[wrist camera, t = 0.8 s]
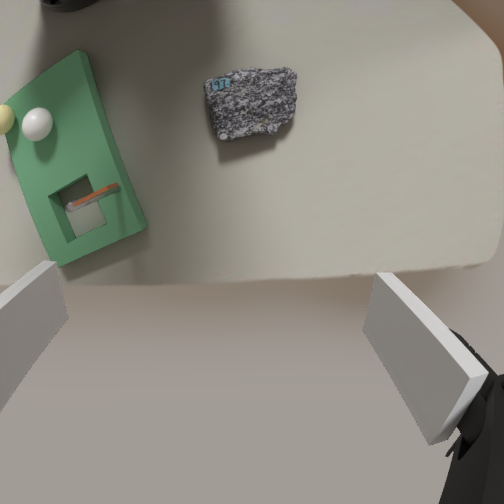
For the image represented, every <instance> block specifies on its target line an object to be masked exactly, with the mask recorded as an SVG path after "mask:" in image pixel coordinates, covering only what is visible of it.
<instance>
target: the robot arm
mask: <svg viewBox="0 0 504 504" xmlns="http://www.w3.org/2000/svg"><path fill="white" fill-rule="evenodd" d="M97 1H98V0H40V2H41V3H42V4H44V5H45V6H47V7H48V8H50V9H52V10H54V11H57V12H70V11H75V10H78V9H81V8H84V7H86V6H89V5H91V4H93V3H95V2H97ZM67 320H68V315H67V311H66V307H65V302H64V298H63V293H62V288H61V283H60V278H59V273H58V267H57V262H56V261H42V262H41V263H39V264H38V265H37V266H35V267H34V268H33V269H31V270H30V271H29V272H27V273H26V274H25V275H24V276H22V277H21V278H20V279H18V280H17V281H16V282H15V283H13V284H12V285H11V286H10V287H9V288H7V289H6V290H5V291H4V292H2V293H1V294H0V412H1V411H2V409H3V408H4V406H5V405H6V403H7V402H8V400H9V399H10V397H11V396H12V394H13V393H14V391H15V390H16V388H17V387H18V385H19V384H20V382H21V381H22V380H23V378H24V377H25V375H26V374H27V372H28V371H29V370H30V368H31V367H32V365H33V364H34V363H35V361H36V360H37V359H38V357H39V356H40V355H41V353H42V352H43V351H44V349H45V348H46V347H47V345H48V344H49V343H50V341H51V340H52V339H53V337H54V336H55V335H56V334H57V332H58V331H59V330H60V328H61V327H62V326H63V325H64V323H65V322H66V321H67ZM363 332H364V334H365V335H366V337H367V338H368V340H369V342H370V343H371V345H372V346H373V348H374V350H375V352H376V353H377V355H378V357H379V358H380V360H381V361H382V363H383V365H384V367H385V368H386V370H387V372H388V373H389V375H390V377H391V379H392V380H393V382H394V384H395V386H396V387H397V389H398V391H399V393H400V394H401V396H402V398H403V400H404V401H405V403H406V405H407V407H408V408H409V410H410V412H411V414H412V416H413V417H414V419H415V421H416V423H417V425H418V426H419V428H420V430H421V432H422V434H423V436H424V438H425V439H426V441H427V443H428V445H433V444H436V443H439V442H442V441H445V440H448V438H449V437H450V436H451V434H452V433H453V431H454V430H455V428H456V427H457V428H458V429H459V431H460V433H461V434H460V436H459V437H458V438H457V440H456V441H455V443H454V444H453V445H452V447H451V448H450V449H449V450H448V452H447V454H446V457H448V456H449V455H450V454H451V452H452V451H454V453H453V457H452V461H451V465H450V469H449V472H448V476H447V480H446V482H445V486H444V489H443V492H442V495H441V498H440V501H439V504H504V374H502V375H499V376H498V375H497V374H496V373H495V372H494V371H493V370H492V369H491V368H490V367H489V365H488V364H487V363H486V362H485V361H484V360H483V359H482V358H481V357H480V356H479V355H478V354H477V353H475V350H474V349H473V348H472V347H471V346H469V344H468V343H467V342H466V341H465V340H464V339H463V337H462V336H460V335H459V334H457V333H456V332H454V331H453V330H451V329H449V328H447V327H446V326H445V325H444V324H443V323H442V322H441V321H440V320H439V319H438V318H437V316H436V315H435V314H433V312H432V311H430V309H429V308H428V307H426V305H424V304H423V302H422V301H421V300H419V299H418V298H417V297H416V296H415V295H414V294H413V293H412V292H411V291H410V290H409V289H408V288H407V287H406V286H405V285H404V284H403V283H402V282H401V281H400V280H399V279H398V278H397V277H396V276H394V275H393V274H392V273H376V274H375V279H374V284H373V288H372V293H371V298H370V301H369V306H368V310H367V314H366V318H365V322H364V326H363Z"/></svg>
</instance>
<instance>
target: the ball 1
mask: <svg viewBox="0 0 504 504" xmlns="http://www.w3.org/2000/svg"><path fill="white" fill-rule="evenodd" d="M14 120H15V114H14V111H13V109H12V108H11V107H10V106H8V105H0V135H4V134H6V133H7V132H8V131H9V130H10V129H11V128H12V126H13V124H14Z"/></svg>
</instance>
